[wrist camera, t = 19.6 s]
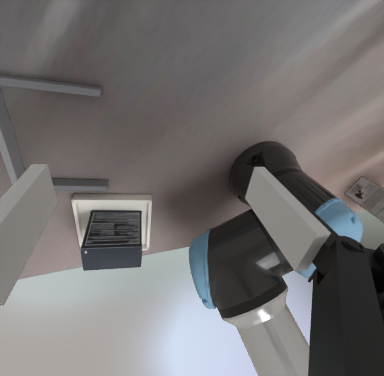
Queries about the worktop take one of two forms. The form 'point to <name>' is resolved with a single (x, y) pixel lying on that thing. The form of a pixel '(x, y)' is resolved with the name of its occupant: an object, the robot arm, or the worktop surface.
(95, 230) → the small box
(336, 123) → the worktop surface
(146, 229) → the tray
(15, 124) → the worktop surface
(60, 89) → the bay
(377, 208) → the coffee box
